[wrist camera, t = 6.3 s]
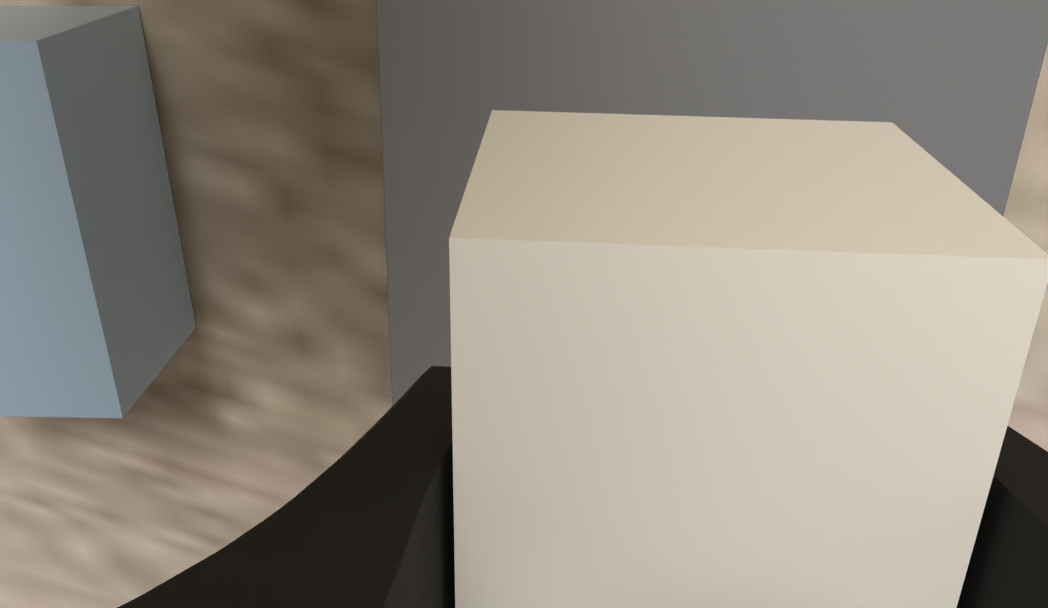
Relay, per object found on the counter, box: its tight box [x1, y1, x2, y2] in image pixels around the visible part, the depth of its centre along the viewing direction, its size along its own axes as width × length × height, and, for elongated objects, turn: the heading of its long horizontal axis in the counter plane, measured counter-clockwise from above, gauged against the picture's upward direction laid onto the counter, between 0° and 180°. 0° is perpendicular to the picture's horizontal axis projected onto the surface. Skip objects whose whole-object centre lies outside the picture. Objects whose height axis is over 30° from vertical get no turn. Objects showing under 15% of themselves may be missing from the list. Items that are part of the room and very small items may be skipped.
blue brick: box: [0, 6, 196, 418], centre depth 18 cm, size 7×4×4 cm, turn 1°
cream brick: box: [449, 110, 1048, 608], centre depth 10 cm, size 7×4×4 cm, turn 179°
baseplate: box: [376, 0, 1048, 405], centre depth 19 cm, size 12×12×1 cm
